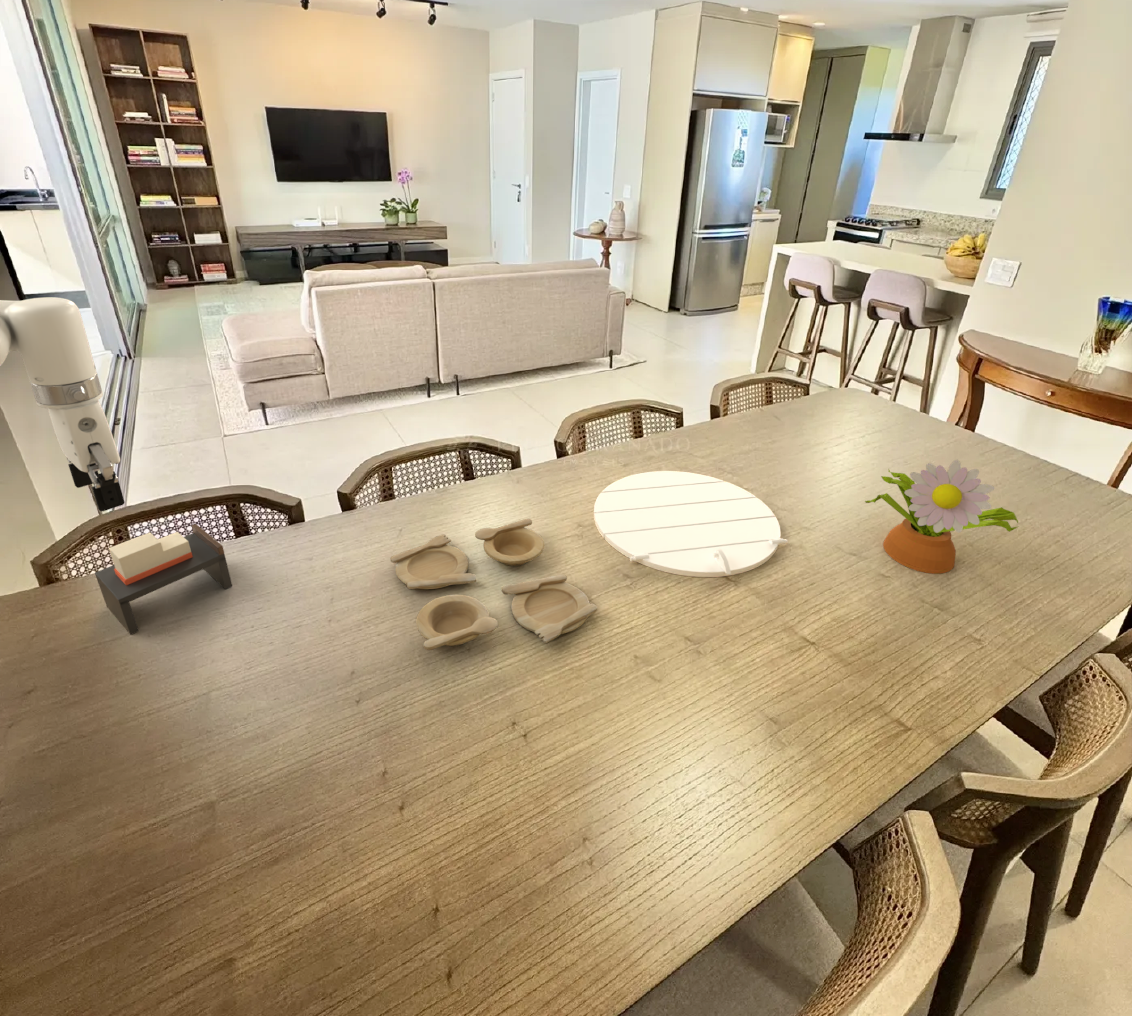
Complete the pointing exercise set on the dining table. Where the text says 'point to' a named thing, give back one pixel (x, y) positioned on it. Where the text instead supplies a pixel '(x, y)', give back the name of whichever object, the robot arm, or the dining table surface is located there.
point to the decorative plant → (938, 515)
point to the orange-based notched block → (148, 555)
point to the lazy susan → (687, 524)
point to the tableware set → (533, 606)
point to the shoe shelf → (164, 576)
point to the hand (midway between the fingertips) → (99, 495)
